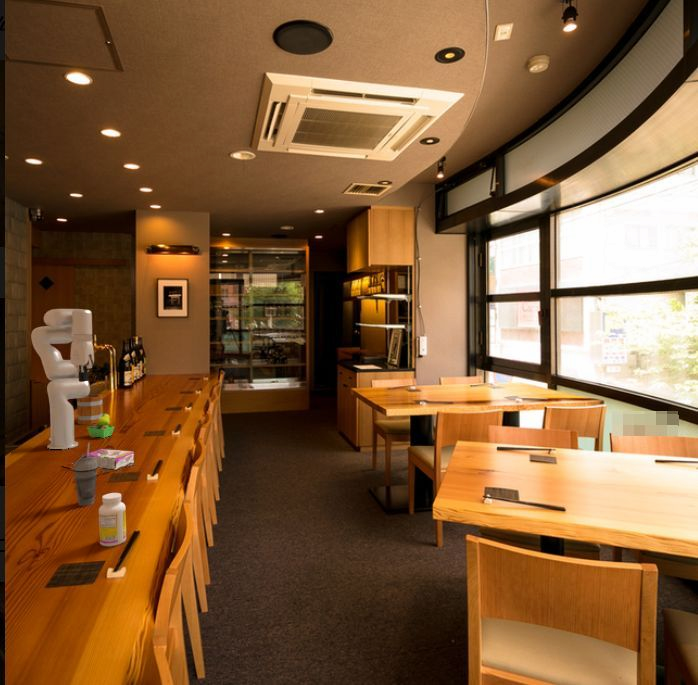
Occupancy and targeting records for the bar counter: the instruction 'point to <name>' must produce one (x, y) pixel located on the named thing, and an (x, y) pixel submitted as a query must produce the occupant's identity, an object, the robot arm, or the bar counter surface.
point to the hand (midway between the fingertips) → (83, 381)
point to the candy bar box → (112, 458)
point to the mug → (89, 409)
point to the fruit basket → (101, 427)
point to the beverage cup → (85, 479)
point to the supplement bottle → (112, 520)
